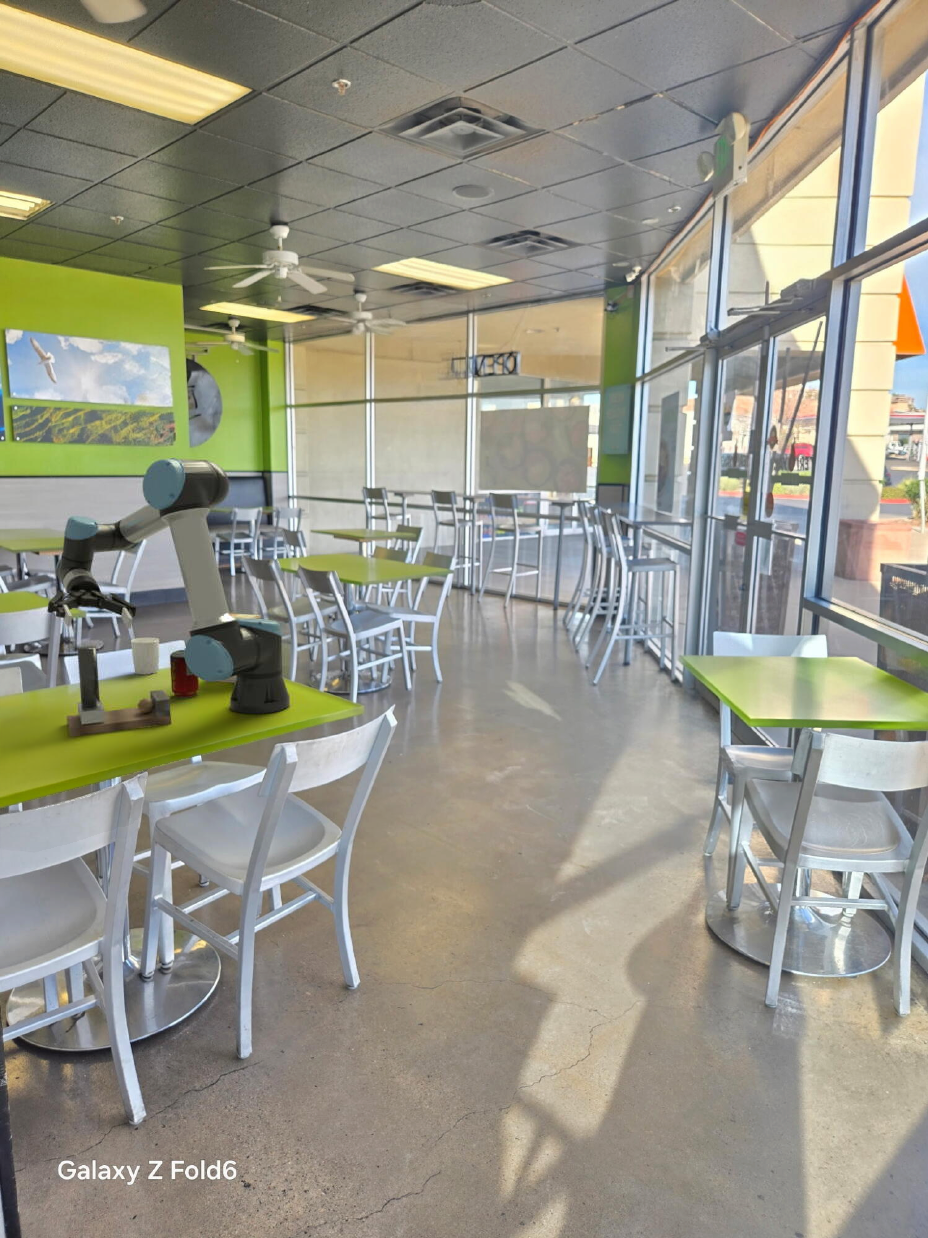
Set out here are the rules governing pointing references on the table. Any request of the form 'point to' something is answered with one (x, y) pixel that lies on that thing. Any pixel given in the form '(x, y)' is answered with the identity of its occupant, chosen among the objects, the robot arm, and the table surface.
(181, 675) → the soda can
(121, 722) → the nutcracker bench
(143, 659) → the white cup
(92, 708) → the post
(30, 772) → the table surface
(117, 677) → the table surface
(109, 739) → the table surface
